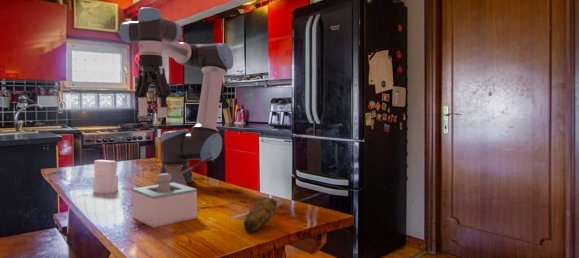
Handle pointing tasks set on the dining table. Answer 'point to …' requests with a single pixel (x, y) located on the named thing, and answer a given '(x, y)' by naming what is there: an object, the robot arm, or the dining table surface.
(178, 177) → the coffee pot
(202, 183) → the dining table surface
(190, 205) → the drop box
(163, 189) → the salt shaker
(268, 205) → the potato
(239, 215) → the fork
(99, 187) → the base with upright slab
